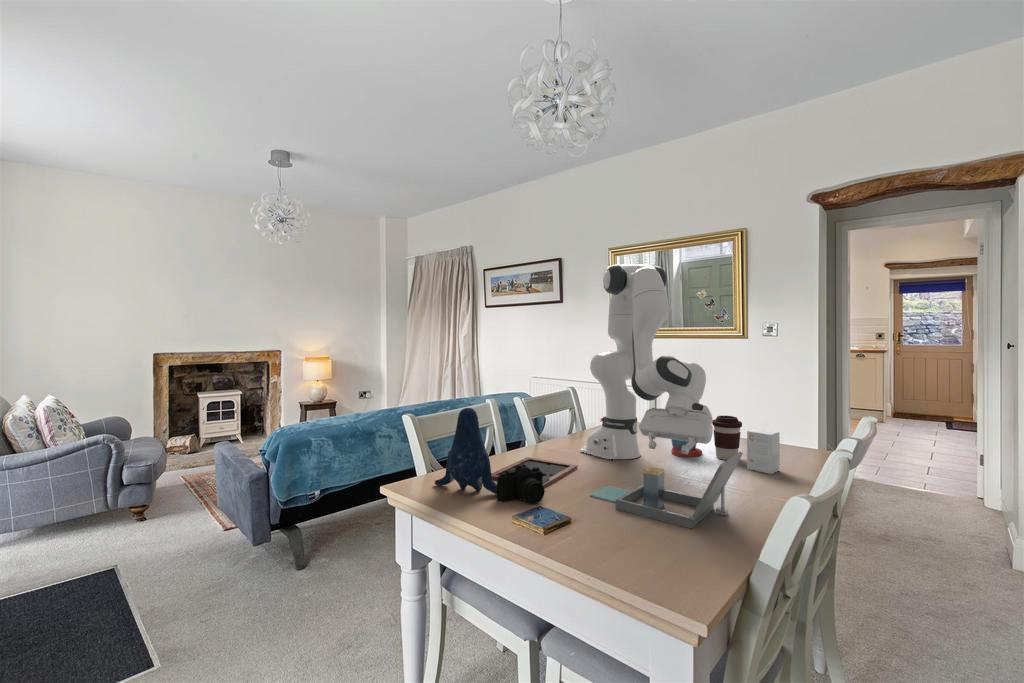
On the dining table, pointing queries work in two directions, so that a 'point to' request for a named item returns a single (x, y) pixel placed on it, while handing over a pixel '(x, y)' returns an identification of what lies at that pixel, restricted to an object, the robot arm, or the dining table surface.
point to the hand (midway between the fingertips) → (667, 450)
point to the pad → (609, 493)
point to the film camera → (520, 484)
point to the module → (654, 487)
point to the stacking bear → (678, 446)
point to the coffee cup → (726, 436)
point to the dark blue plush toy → (468, 456)
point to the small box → (763, 451)
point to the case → (684, 499)
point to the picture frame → (542, 469)
